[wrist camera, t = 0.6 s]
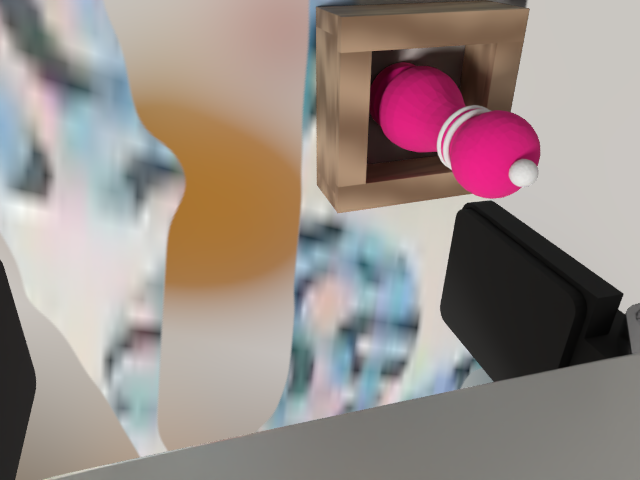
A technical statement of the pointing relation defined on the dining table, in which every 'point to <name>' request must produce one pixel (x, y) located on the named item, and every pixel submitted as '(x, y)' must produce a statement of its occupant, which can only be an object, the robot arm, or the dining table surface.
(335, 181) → the box
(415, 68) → the pepper mill
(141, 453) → the dining table surface
